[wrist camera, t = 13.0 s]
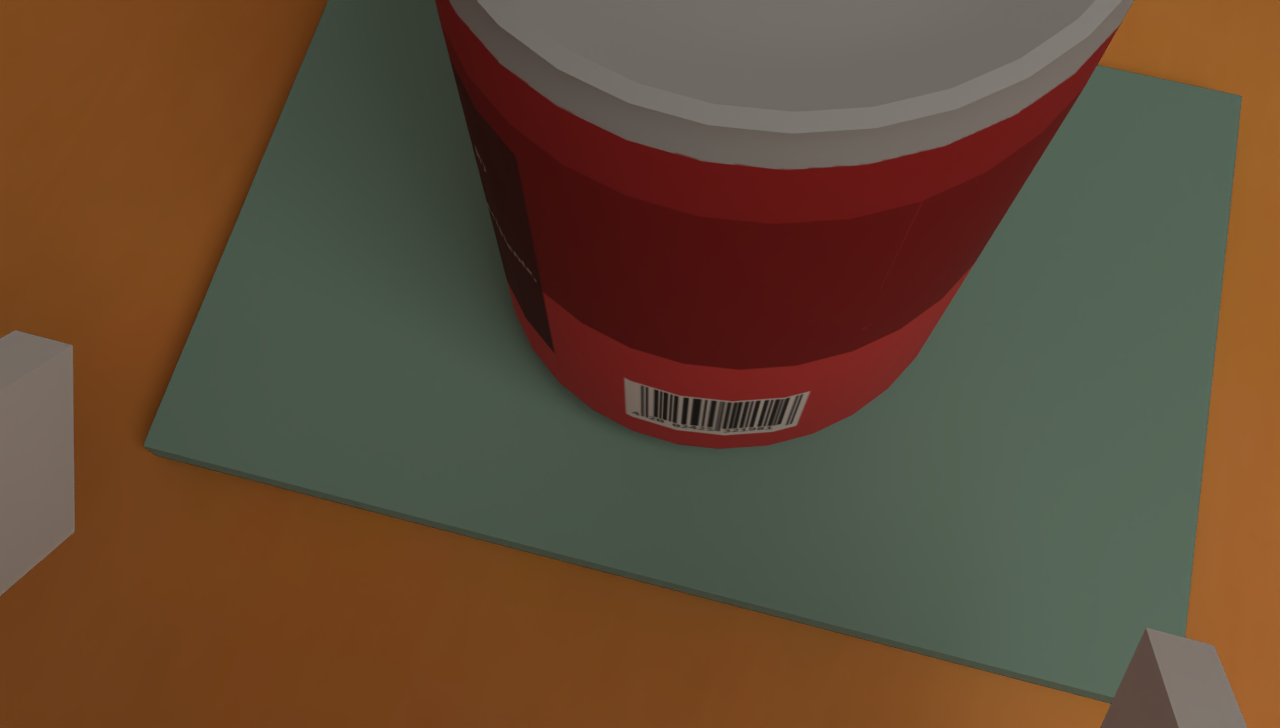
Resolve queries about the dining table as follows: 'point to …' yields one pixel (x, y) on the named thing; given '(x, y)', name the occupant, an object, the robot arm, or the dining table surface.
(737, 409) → the canned food
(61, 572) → the dining table surface
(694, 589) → the green mat
